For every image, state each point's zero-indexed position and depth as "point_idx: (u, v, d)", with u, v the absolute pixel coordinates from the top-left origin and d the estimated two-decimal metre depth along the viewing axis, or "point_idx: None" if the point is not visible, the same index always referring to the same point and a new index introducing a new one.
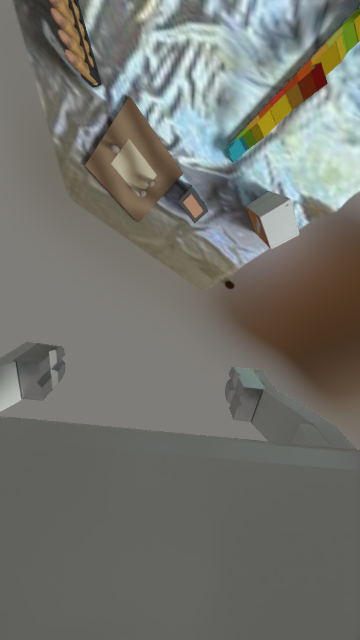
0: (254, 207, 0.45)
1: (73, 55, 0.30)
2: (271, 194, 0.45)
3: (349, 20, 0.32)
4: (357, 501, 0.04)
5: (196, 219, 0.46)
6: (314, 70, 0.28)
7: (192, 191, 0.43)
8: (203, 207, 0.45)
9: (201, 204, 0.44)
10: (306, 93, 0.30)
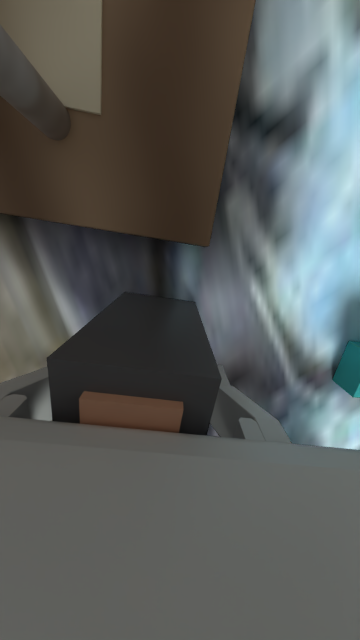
0: None
1: None
2: None
3: None
4: (357, 501, 0.04)
5: None
6: None
7: (203, 398, 0.05)
8: None
9: None
10: None
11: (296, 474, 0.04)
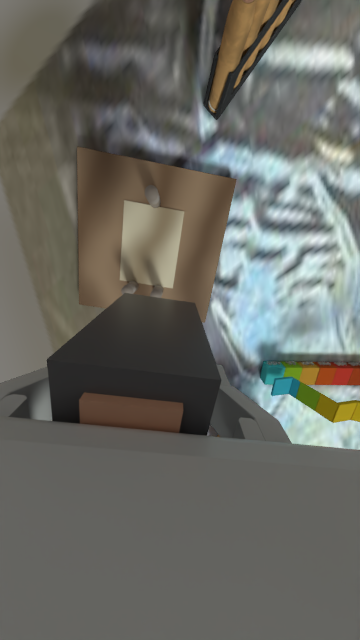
0: None
1: None
2: None
3: None
4: (357, 501, 0.04)
5: None
6: None
7: (202, 399, 0.05)
8: None
9: None
10: None
11: (296, 474, 0.04)
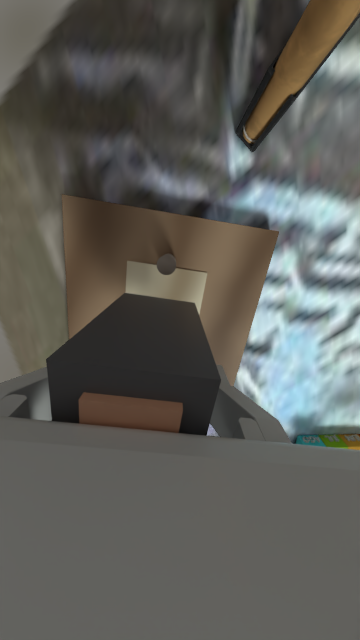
0: None
1: None
2: None
3: None
4: (357, 501, 0.04)
5: None
6: None
7: (202, 399, 0.05)
8: None
9: None
10: None
11: (296, 474, 0.04)
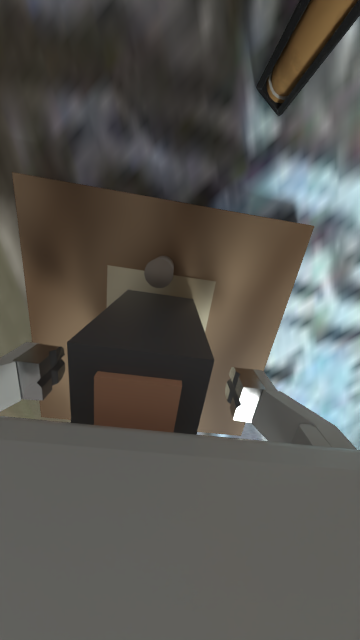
0: None
1: None
2: None
3: None
4: (357, 501, 0.04)
5: None
6: None
7: (198, 377, 0.06)
8: None
9: None
10: None
11: (296, 474, 0.04)
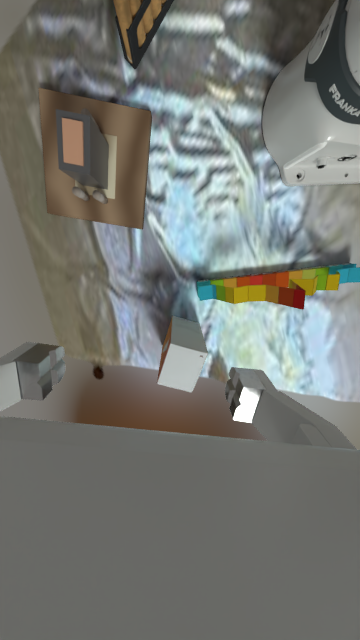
0: (176, 325, 0.36)
1: None
2: (198, 329, 0.38)
3: (321, 269, 0.37)
4: (357, 501, 0.04)
5: (65, 166, 0.25)
6: (297, 291, 0.26)
7: (87, 122, 0.24)
8: (87, 162, 0.25)
9: (87, 155, 0.25)
10: (282, 300, 0.29)
11: (296, 474, 0.04)
